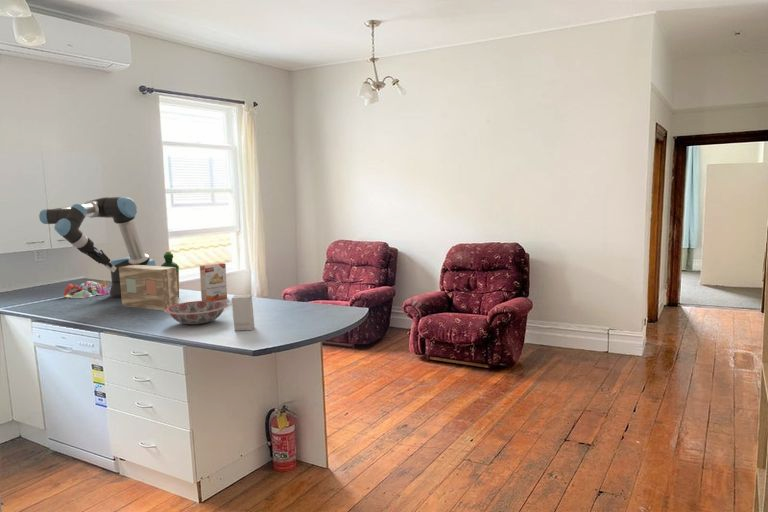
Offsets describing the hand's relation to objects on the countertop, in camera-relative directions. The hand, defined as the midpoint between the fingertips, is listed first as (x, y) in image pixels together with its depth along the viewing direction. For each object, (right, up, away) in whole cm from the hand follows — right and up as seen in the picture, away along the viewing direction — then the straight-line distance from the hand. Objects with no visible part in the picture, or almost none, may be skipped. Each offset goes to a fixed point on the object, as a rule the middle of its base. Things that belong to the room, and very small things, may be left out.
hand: (114, 270), depth 306 cm
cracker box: (+46, -18, +26) cm, 56 cm away
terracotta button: (+20, -13, +4) cm, 24 cm away
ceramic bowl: (+55, -25, -30) cm, 67 cm away
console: (+14, -21, +12) cm, 28 cm away
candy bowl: (-41, -17, +52) cm, 69 cm away
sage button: (+5, -13, +12) cm, 18 cm away
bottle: (+18, -18, +33) cm, 42 cm away
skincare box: (+81, -26, -45) cm, 97 cm away
